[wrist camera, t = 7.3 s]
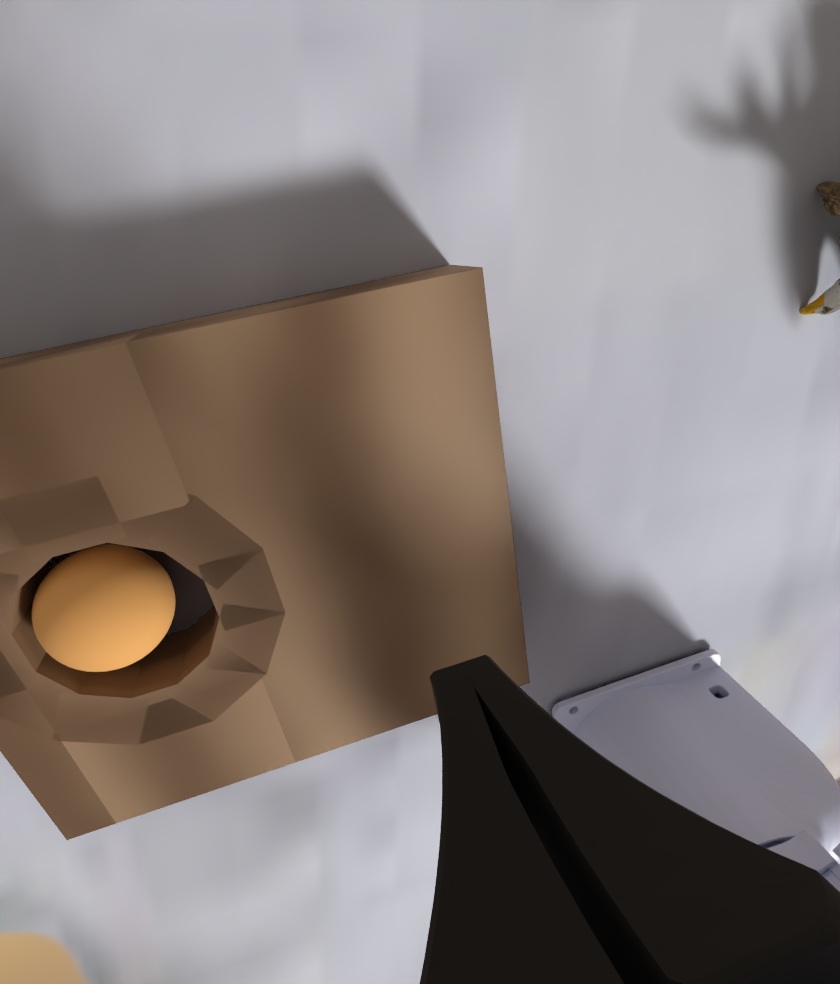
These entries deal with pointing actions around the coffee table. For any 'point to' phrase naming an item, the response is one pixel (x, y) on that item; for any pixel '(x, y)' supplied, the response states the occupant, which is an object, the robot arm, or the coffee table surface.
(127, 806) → the board
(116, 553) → the ball
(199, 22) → the coffee table surface
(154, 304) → the coffee table surface
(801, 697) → the coffee table surface
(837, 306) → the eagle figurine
